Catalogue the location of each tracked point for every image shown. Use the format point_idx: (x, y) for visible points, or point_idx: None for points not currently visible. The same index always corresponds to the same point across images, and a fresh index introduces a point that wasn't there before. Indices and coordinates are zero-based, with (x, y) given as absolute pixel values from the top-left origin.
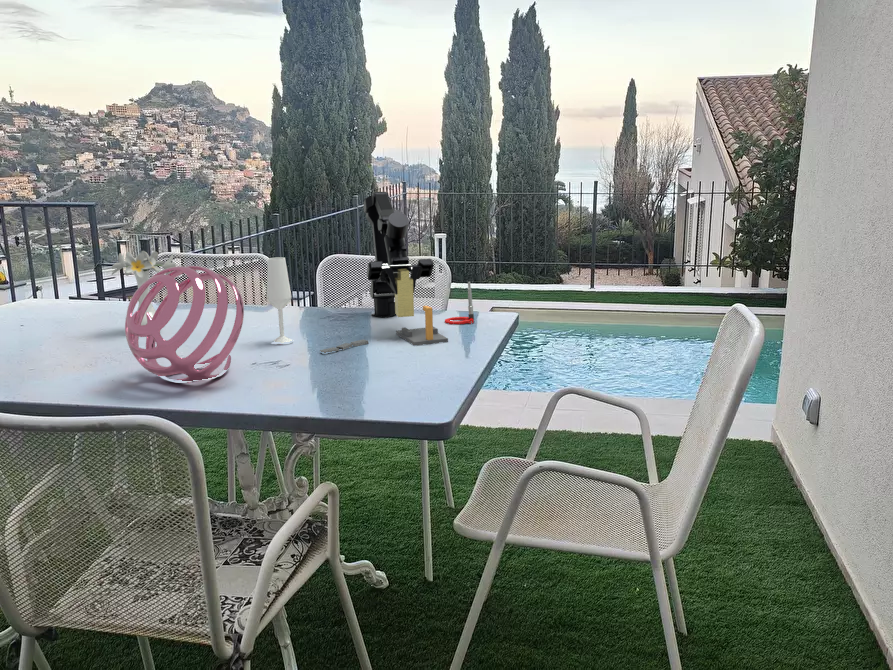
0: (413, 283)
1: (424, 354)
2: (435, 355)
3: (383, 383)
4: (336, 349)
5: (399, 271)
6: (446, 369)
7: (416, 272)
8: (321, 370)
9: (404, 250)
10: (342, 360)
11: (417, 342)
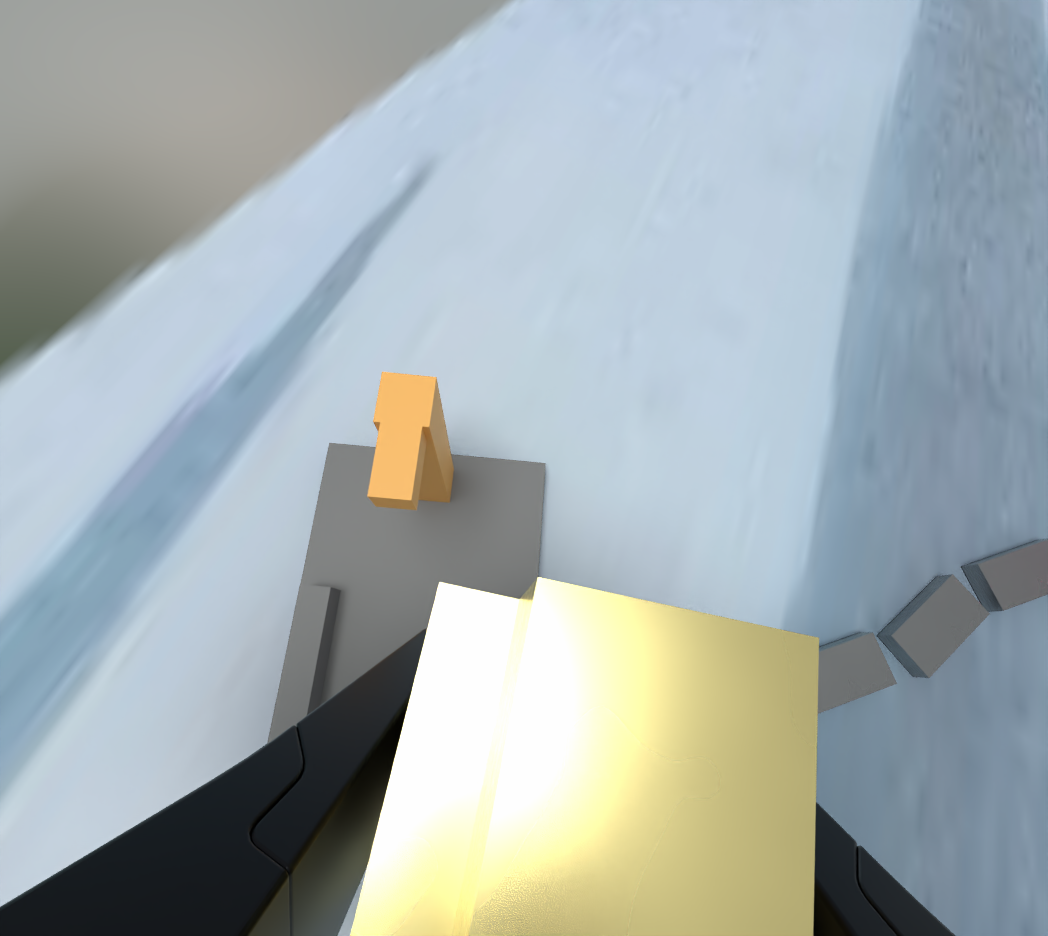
0: (391, 691)
1: (568, 299)
2: (530, 261)
3: (839, 74)
4: (986, 560)
5: (792, 869)
6: (583, 90)
7: (141, 863)
8: (1045, 304)
9: None
10: (951, 398)
11: (525, 463)
